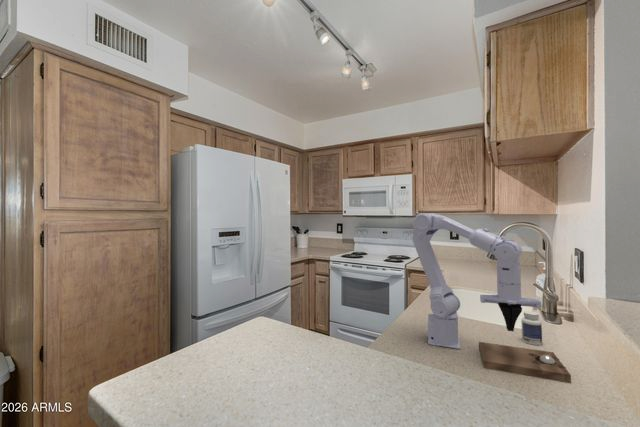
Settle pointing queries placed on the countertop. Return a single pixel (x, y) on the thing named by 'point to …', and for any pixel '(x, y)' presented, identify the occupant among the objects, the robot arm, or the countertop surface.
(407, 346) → the countertop surface
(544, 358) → the steel ball
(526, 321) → the pill bottle
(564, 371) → the walnut board
